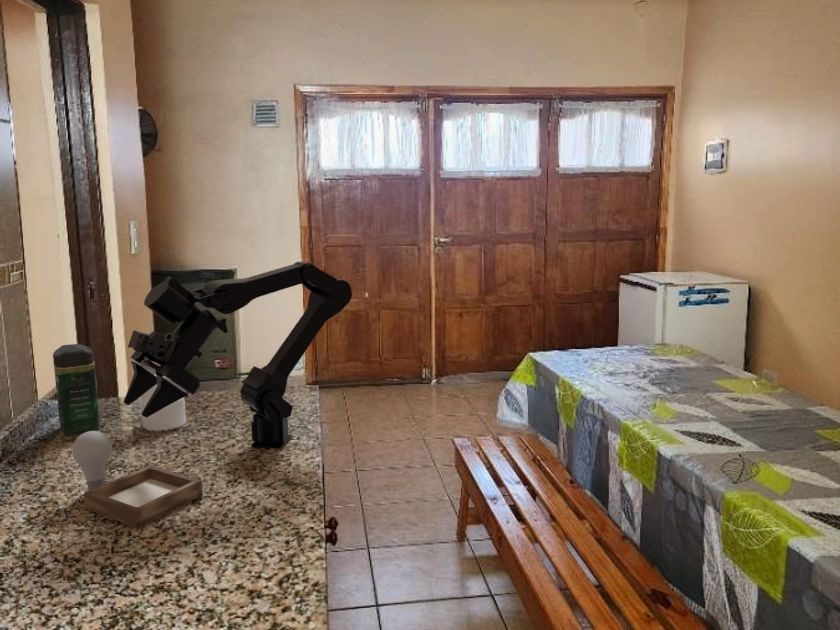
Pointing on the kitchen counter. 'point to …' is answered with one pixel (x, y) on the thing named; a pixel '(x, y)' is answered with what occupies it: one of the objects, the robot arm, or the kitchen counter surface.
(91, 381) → the coffee jar
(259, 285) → the robot arm
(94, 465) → the lightbulb
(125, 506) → the walnut tray
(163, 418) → the cylinder with rectangular tab
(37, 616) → the kitchen counter surface
